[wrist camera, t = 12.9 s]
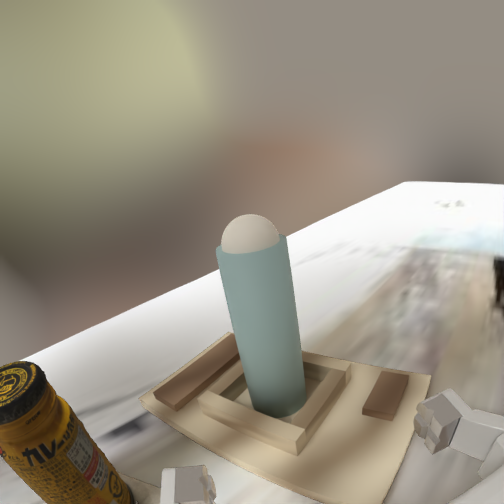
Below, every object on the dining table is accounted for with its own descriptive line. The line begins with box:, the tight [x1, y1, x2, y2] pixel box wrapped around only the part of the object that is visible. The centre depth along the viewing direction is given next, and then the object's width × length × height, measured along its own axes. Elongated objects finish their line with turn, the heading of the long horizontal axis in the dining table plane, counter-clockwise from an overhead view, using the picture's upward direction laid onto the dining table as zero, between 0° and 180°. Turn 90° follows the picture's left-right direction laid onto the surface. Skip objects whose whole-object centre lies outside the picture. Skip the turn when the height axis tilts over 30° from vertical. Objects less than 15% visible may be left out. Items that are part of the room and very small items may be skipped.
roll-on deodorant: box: [216, 214, 307, 418], centre depth 21 cm, size 4×4×15 cm
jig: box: [139, 332, 432, 504], centre depth 23 cm, size 22×13×3 cm, turn 54°
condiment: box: [0, 361, 161, 504], centre depth 13 cm, size 7×8×12 cm
